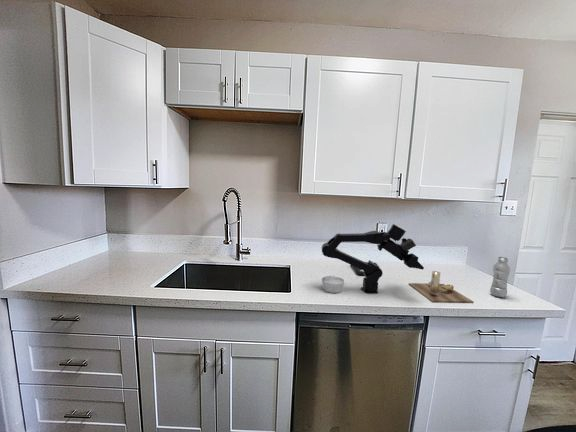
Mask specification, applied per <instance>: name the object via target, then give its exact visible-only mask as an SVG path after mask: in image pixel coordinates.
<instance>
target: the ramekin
mask: <svg viewBox="0 0 576 432" xmlns="http://www.w3.org/2000/svg"><path fill="white" fill-rule="evenodd" d="M321 282H322V288H323V290H324V291H325V292H327V293H331V294H338V293H340V292H342V291H343V288H344V284H345V280H344V279H343V278H342V277H339V276H335V275H326V276H323V277H322V278H321Z"/></svg>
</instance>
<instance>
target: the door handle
mask: <svg viewBox="0 0 576 432" xmlns="http://www.w3.org/2000/svg"><path fill="white" fill-rule="evenodd" d="M350 266H351V269H352V270H353V272H354V273H355V274H357V276H359V277H360V276H362V277H365V276H364V274H363V272H364V271H363V270H361V269H359V268H357V267H355V266H353V265H350Z"/></svg>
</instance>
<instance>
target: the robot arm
mask: <svg viewBox="0 0 576 432" xmlns="http://www.w3.org/2000/svg"><path fill="white" fill-rule="evenodd" d="M406 232H407V231H406V230H405V229H403V228H401V227H399V226H398V225H396V224H392V225H391V227H390V229H388V231H387V232H386V231H378V230H371V231H367V232H363V233H360V232H359V233H358V232H357V233H339V232H338V233H336V234H335V235H334V236H333V237H332V238H330V239H329V240H328V241H327V242H324V243H323V244H322V245H321V252H322V253H321V254H322V255H323V256H324V257H326V258H331V259H337V260H340V261H342V262H344V263H345V264H349V265H350V266H351V265H353V266H355V267H357V268H359V269H361V270H360V271H364V272H363V274H364V276H363V279H362V286H361V287H360V288H361V289H362V291H363V292H364V293H365V294H379V292H378V291H379V279H380V278H381V277H382V276H383V270H382V269H381V267H380V265H378V263H377V262H373V261H371V259H369V260H368V262H367V261H364V260H361V259H359V258H356V257H354V256H353V255H350V254H348V253H346V252H344V251H341V250H339V248H338V247H339V246H340V244H341V243H356V242H357V243H370V244H373V245H374V244H375V245H376V246H377V250H378V251H379V252H381V251H382V250H384V251H386V252H388V253H389V254H390V255H392V256H394V257H395V258H397V259H398V260H400V261H403V264H404V265H405V266H407V267H408V268H409V269H419V270H421V271H422V270H424V268H425V267H424V265H422V264H421V263H420V262H419V256H417V255H416V254H414V253H412V252H411V253H410V250H411V249H413V248H415V247H416V246H417V244H416V243H415V241H414V240H413V239H412V238H405V237H403V236H404V235H405V234H406ZM399 241H401V243H400V244H398V243H396V242H399Z"/></svg>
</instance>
